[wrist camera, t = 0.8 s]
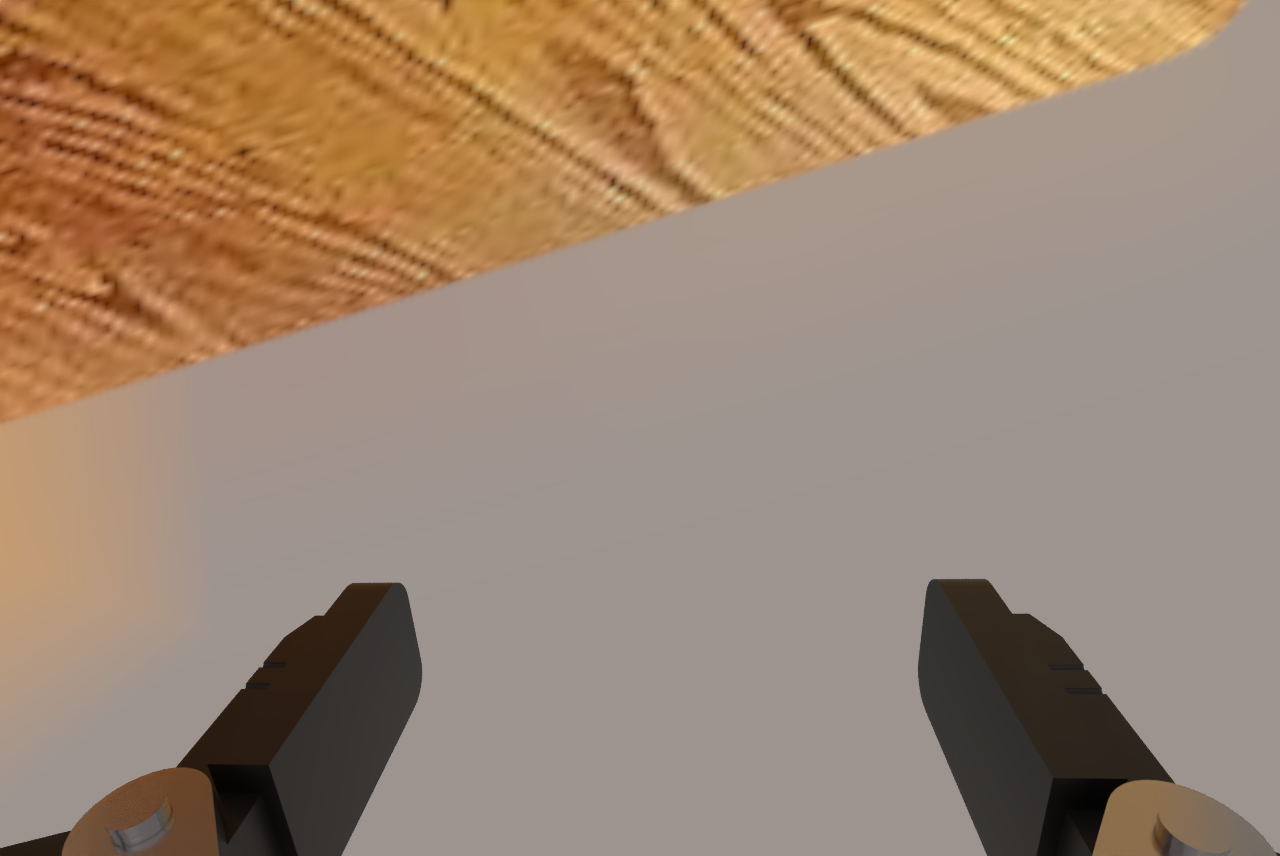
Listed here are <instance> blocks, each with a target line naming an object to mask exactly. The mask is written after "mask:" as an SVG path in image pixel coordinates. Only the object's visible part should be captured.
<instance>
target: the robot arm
mask: <svg viewBox="0 0 1280 856" xmlns="http://www.w3.org/2000/svg"><path fill="white" fill-rule="evenodd" d="M918 678H919V687H920V693H921V698H922V702H923V705H924V707H925V710H926V713H927V715H928V718H929V720H930V722H931V725H932V727H933V729H934V732H935V734H936V736H937V739H938V741H939V743H940V746H941V748H942V750H943V753H944V755H945V757H946V760H947V762H948V765H949V767H950V769H951V772H952V774H953V776H954V779H955V781H956V783H957V785H958V788H959V790H960V793H961V795H962V797H963V800H964V802H965V804H966V807H967V809H968V812H969V814H970V816H971V819H972V821H973V823H974V826H975V828H976V830H977V833H978V835H979V837H980V840H981V842H982V845H983V847H984V849H985V852H986V854H987V856H1280V854H1279V853H1276V852H1275V851H1274V850H1273V848H1272V847H1271V845H1270V844H1269V843H1268V842H1267V840H1266V839H1265V838H1264V837H1263V836H1262V835H1261V834H1260V833H1259V832H1258V831H1257V830H1256V829H1255V828H1254V827H1253V826H1252V825H1251V824H1250V823H1249V822H1247V821H1246V820H1245V819H1244V818H1243V817H1241V816H1240V815H1239V814H1237V813H1235V812H1234V811H1233V810H1231V809H1230V808H1228V807H1227V806H1225V805H1224V804H1222V803H1220V802H1218V801H1217V800H1215V799H1213V798H1211V797H1209V796H1207V795H1205V794H1202V793H1200V792H1198V791H1195V790H1192V789H1190V788H1187V787H1184V786H1181V785H1177V784H1175V783H1174V781H1173V780H1172V779H1171V777H1170V776H1169V775H1168V774H1167V772H1166V771H1165V770H1164V768H1163V767H1162V766H1161V765H1160V763H1159V762H1158V761H1157V759H1156V758H1155V757H1154V755H1153V754H1152V753H1151V752H1150V750H1149V749H1148V748H1147V746H1146V745H1145V744H1144V743H1143V741H1142V740H1141V739H1140V737H1139V736H1138V735H1137V733H1136V732H1135V731H1134V730H1133V728H1132V727H1131V726H1130V724H1129V723H1128V722H1127V721H1126V719H1125V718H1124V716H1123V715H1122V714H1121V713H1120V711H1119V710H1118V709H1117V708H1116V706H1115V705H1114V704H1113V703H1112V701H1111V700H1110V698H1109V697H1108V696H1107V695H1106V694H1103V693H1102V690H1101V689H1102V688H1101V687H1100V686H1099V684H1098V683H1097V682H1096V680H1095V679H1094V678H1093V676H1092V675H1091V674H1090V672H1088V670H1084V667H1083V663H1082V662H1081V661H1080V659H1079V658H1078V657H1077V656H1076V654H1075V653H1074V652H1073V651H1072V649H1071V648H1070V647H1069V645H1068V644H1067V643H1066V641H1065V640H1064V639H1063V637H1061V636H1060V635H1059V634H1057V633H1056V632H1054V631H1053V630H1051V629H1050V628H1049V627H1047V626H1046V625H1044V624H1043V623H1041V622H1040V621H1038V620H1037V619H1036V618H1034V617H1033V616H1031V615H1030V614H1012V613H1011V611H1010V610H1009V609H1008V607H1007V606H1006V604H1005V603H1004V602H1003V600H1002V599H1001V597H1000V596H999V594H998V593H997V592H996V590H995V589H994V587H993V586H992V585H991V583H990V582H989V581H988V580H986V579H933V580H931V581H930V582H929V584H928V587H927V591H926V599H925V608H924V617H923V626H922V634H921V643H920V653H919V662H918ZM421 682H422V663H421V658H420V653H419V648H418V644H417V638H416V633H415V628H414V623H413V619H412V613H411V609H410V604H409V599H408V595H407V591H406V589H405V587H404V586H403V585H402V584H401V583H352V584H350V585H349V586H347V587H346V589H345V590H344V591H343V592H342V593H341V595H340V596H339V597H338V599H337V600H336V601H335V602H334V604H333V605H332V606H331V608H330V609H329V610H328V611H327V613H326V614H325V615H324V616H314V617H313V618H311V619H310V620H309V621H307V622H306V623H304V624H303V625H301V626H300V627H298V628H297V629H296V630H294V631H293V632H291V633H290V634H288V635H287V636H286V637H284V639H283V640H282V641H281V642H280V643H279V644H278V646H277V647H276V648H275V649H274V651H273V652H272V653H271V654H270V656H268V658H267V659H266V660H265V661H264V665H263V668H259V669H258V670H257V671H256V672H255V673H254V674H253V676H252V677H251V678H250V679H249V680H248V682H247V683H246V688H245V689H241V690H240V692H238V694H237V695H236V696H235V697H234V699H233V700H232V701H231V702H230V703H229V704H228V706H227V707H226V708H225V709H224V711H223V712H222V713H221V714H220V716H218V718H217V719H216V720H215V721H214V722H213V724H212V725H211V726H210V728H209V729H208V730H207V731H206V732H205V733H204V734H203V736H202V737H201V738H200V739H199V741H198V742H197V743H196V744H195V745H194V747H193V748H192V749H191V750H190V751H189V752H188V754H187V755H186V756H185V757H184V758H183V760H182V761H181V762H180V763H179V764H178V766H177V767H176V768H170V769H164V770H160V771H156V772H152V773H150V774H147V775H144V776H141V777H139V778H137V779H135V780H133V781H130V782H128V783H126V784H125V785H123V786H121V787H119V788H118V789H116V790H114V791H113V792H111V793H110V794H108V795H107V796H105V797H104V798H103V799H102V800H100V801H99V802H98V803H96V804H95V805H94V806H93V807H92V808H91V809H90V810H89V811H88V812H86V813H85V814H84V815H83V817H82V818H81V819H80V820H79V821H78V822H77V823H76V825H75V826H74V828H73V829H72V830H71V831H68V832H64V833H59V834H55V835H52V836H48V837H43V838H39V839H35V840H31V841H28V842H23V843H19V844H15V845H11V846H7V847H4V848H0V856H341V855H342V853H343V851H344V849H345V847H346V845H347V843H348V841H349V839H350V837H351V835H352V833H353V831H354V829H355V827H356V825H357V823H358V820H359V819H360V816H361V815H362V813H363V811H364V809H365V807H366V804H367V802H368V800H369V798H370V796H371V794H372V792H373V790H374V788H375V786H376V784H377V782H378V780H379V778H380V776H381V774H382V772H383V770H384V768H385V766H386V764H387V762H388V760H389V758H390V756H391V754H392V752H393V750H394V747H395V746H396V744H397V742H398V740H399V737H400V736H401V734H402V732H403V729H404V728H405V725H406V724H407V722H408V719H409V717H410V715H411V713H412V711H413V709H414V707H415V705H416V703H417V700H418V697H419V693H420V688H421Z"/></svg>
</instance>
